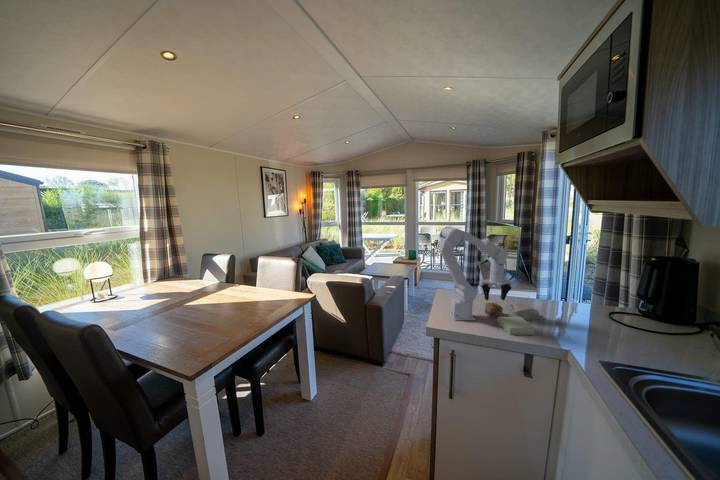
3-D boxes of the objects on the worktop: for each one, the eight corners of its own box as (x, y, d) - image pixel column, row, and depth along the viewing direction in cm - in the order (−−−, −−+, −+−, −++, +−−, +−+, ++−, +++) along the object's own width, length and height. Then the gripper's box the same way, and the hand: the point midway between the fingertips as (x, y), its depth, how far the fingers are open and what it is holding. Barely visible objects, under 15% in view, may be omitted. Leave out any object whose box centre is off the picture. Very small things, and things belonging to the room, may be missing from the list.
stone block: (520, 323, 121) (542, 319, 120) (518, 314, 120) (540, 310, 120) (506, 313, 132) (526, 309, 132) (505, 304, 132) (525, 300, 131)
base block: (509, 334, 108) (510, 327, 107) (497, 322, 118) (497, 316, 117) (534, 334, 108) (534, 327, 107) (519, 322, 117) (520, 316, 117)
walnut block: (490, 317, 123) (490, 307, 122) (484, 312, 128) (485, 303, 127) (501, 317, 123) (502, 307, 122) (496, 312, 128) (496, 303, 127)
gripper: (485, 274, 118) (483, 302, 120) (517, 274, 118) (514, 302, 120) (478, 270, 125) (476, 297, 127) (508, 270, 125) (506, 296, 127)
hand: (494, 299), depth 124 cm, fingers open, 7 cm apart
